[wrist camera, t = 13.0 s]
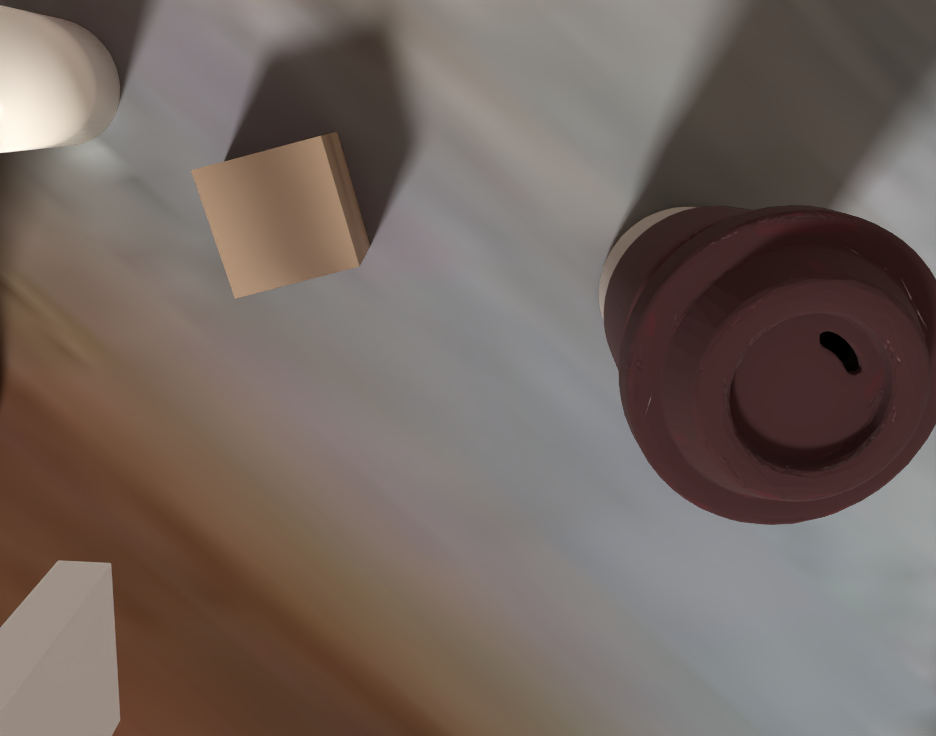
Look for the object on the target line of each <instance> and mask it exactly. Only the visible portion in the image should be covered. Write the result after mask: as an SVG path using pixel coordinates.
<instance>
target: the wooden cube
mask: <svg viewBox="0 0 936 736" xmlns="http://www.w3.org/2000/svg"><path fill="white" fill-rule="evenodd" d="M191 172H192V175H193V178H194V181H195V184H196V186H197V189H198V192H199V195H200V198H201V201H202V204H203V207H204V210H205V213H206V216H207V218H208V221H209V224H210V227H211V230H212V233H213V236H214V239H215V242H216V245H217V248H218V251H219V253H220V256H221V259H222V262H223V265H224V268H225V271H226V274H227V277H228V280H229V283H230V285H231V288H232V291H233V294H234V297H235V298H239V297H243V296H247V295H251V294H254V293H258V292H262V291H266V290H270V289H274V288H278V287H281V286H285V285H289V284H293V283H297V282H301V281H305V280H308V279H312V278H316V277H320V276H324V275H328V274H332V273H335V272H339V271H343V270H347V269H351V268H355V267H359V266H360V264H361V262H362V261H363V259H364V257H365V255H366V253H367V251H368V249H369V248H370V243H369V240H368V237H367V233H366V230H365V226H364V223H363V219H362V216H361V212H360V209H359V206H358V202H357V199H356V195H355V192H354V188H353V185H352V181H351V178H350V175H349V171H348V168H347V164H346V161H345V157H344V154H343V150H342V147H341V144H340V140H339V137H338V133H337V132H334V133H330V134H325V135H321V136H318V137H314V138H310V139H306V140H303V141H299V142H295V143H291V144H288V145H284V146H280V147H277V148H273V149H269V150H265V151H262V152H258V153H254V154H250V155H247V156H243V157H239V158H235V159H232V160H228V161H224V162H221V163H217V164H213V165H209V166H206V167H202V168H198V169H194V170H191Z"/></svg>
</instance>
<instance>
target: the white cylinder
mask: <svg viewBox="0 0 936 736" xmlns="http://www.w3.org/2000/svg"><path fill="white" fill-rule="evenodd" d="M119 100H120V81H119V76H118V72H117V69H116V66H115V63H114V61H113V59H112V57H111V55H110V53H109V52H108V50H107V49H106V47H105V46H104V45H103V44H102V42H101V41H100V40H99V39H98V38H97V37H96V36H95V35H93V34H92V33H91V32H89V31H88V30H87V29H85V28H83V27H82V26H80V25H78V24H76V23H73V22H70V21H67V20H64V19H59V18H55V17H50V16H46V15H41V14H37V13H33V12H28V11H24V10H19V9H15V8H10V7H6V6H1V5H0V153H5V152H15V151H24V150H33V149H43V148H52V147H61V146H70V145H78V144H82V143H85V142H88V141H90V140H92V139H94V138H95V137H97V136H98V135H100V134H101V133H102V132H103V131H104V130H105V129H106V128H107V127H108V126H109V124H110V123H111V122H112V120H113V118H114V116H115V114H116V111H117V108H118V105H119Z"/></svg>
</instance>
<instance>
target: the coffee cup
mask: <svg viewBox="0 0 936 736" xmlns="http://www.w3.org/2000/svg"><path fill="white" fill-rule="evenodd" d="M599 304H600V310H601V314H602V317H603V320H604V327H605V334H606V338H607V342H608V345H609V348H610V351H611V353H612V356H613V358H614V361H615V363H616V366H617V368H618V371H619V387H620V395H621V401H622V405H623V409H624V414H625V417H626V419H627V422H628V424H629V427H630V429H631V432H632V434H633V436H634V438H635V439H636V441H637V443H638V445H639V447H640V448H641V450H642V452H643V454H644V455H645V457H646V459H647V460H648V462H649V463H650V465H651V466H652V467H653V469H654V470H655V471H656V472H657V474H658V475H659V476H660V477H661V478H662V479H663V480H664V481H665V482H666V483H667V484H668V485H669V486H670V487H671V488H672V489H673V490H674V491H676V492H677V493H678V494H679V495H681V496H682V497H683V498H685V499H686V500H688V501H690V502H691V503H693V504H694V505H696V506H698V507H699V508H701V509H704V510H706V511H709V512H711V513H714V514H716V515H718V516H721V517H725V518H728V519H731V520H735V521H739V522H746V523H756V524H768V525H775V524H793V523H798V522H803V521H807V520H812V519H817V518H821V517H825V516H828V515H831V514H834V513H837V512H839V511H841V510H843V509H845V508H847V507H849V506H851V505H854V504H856V503H858V502H860V501H862V500H864V499H865V498H867V497H868V496H870V495H871V494H873V493H875V492H876V491H878V490H879V489H880V488H882V487H883V486H884V485H886V484H887V483H888V482H889V481H891V480H892V479H893V478H894V477H895V476H896V475H897V474H898V473H899V472H900V471H901V470H902V469H903V468H904V467H905V466H907V465H908V464H909V462H910V461H911V460H912V458H913V457H914V456H915V455H916V453H917V452H918V451H919V449H920V448H921V447H922V445H923V444H924V443H925V441H926V440H927V439H928V437H929V435H930V433H931V432H932V430H933V428H934V426H935V425H936V279H935V277H934V276H933V274H932V272H931V271H930V269H929V268H928V266H927V265H926V264H925V263H924V261H923V260H922V259H921V258H920V257H919V255H918V254H917V253H916V252H915V251H914V250H913V249H912V248H911V247H909V246H908V245H907V244H906V243H905V242H904V241H903V240H901V239H900V238H898V237H897V236H895V235H894V234H893V233H891V232H889V231H887V230H885V229H884V228H882V227H880V226H878V225H876V224H874V223H872V222H869V221H867V220H864V219H862V218H859V217H855V216H852V215H849V214H845V213H841V212H838V211H834V210H829V209H825V208H820V207H812V206H796V205H789V206H776V207H768V208H763V209H758V210H749V209H742V208H735V207H727V206H703V207H676V208H670V209H666V210H663V211H659V212H657V213H654V214H652V215H650V216H648V217H646V218H644V219H642V220H641V221H639V222H638V223H636V224H635V225H634V226H632V227H631V228H630V229H629V230H628V231H627V232H625V233H624V234H623V235H622V236H621V238H620V239H619V240H618V242H617V243H616V244H615V245H614V247H613V248H612V250H611V252H610V253H609V255H608V258H607V260H606V262H605V264H604V267H603V270H602V274H601V278H600V287H599Z"/></svg>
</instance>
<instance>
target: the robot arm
mask: <svg viewBox="0 0 936 736" xmlns="http://www.w3.org/2000/svg"><path fill="white" fill-rule="evenodd" d="M119 721H120V708H119V691H118V674H117V656H116V639H115V622H114V604H113V587H112V570H111V563H98V562H77V561H57V563H56V564H55V565H54V566H53V567H52V568H51V570H50V571H49V572H48V573H47V574H46V575H45V577H44V578H43V579H42V580H41V581H40V582H39V583H38V585H37V586H36V587H35V588H34V589H33V590H32V592H31V593H30V594H29V595H28V596H27V597H26V599H25V600H24V601H23V602H22V603H21V604H20V606H19V607H18V608H17V609H16V610H15V611H14V612H13V614H12V615H11V616H10V617H9V618H8V619H7V621H6V622H5V623H4V624H3V625H2V626H1V628H0V736H112V734H113V732H114V731H115V729H116V727H117V725H118V723H119Z"/></svg>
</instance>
